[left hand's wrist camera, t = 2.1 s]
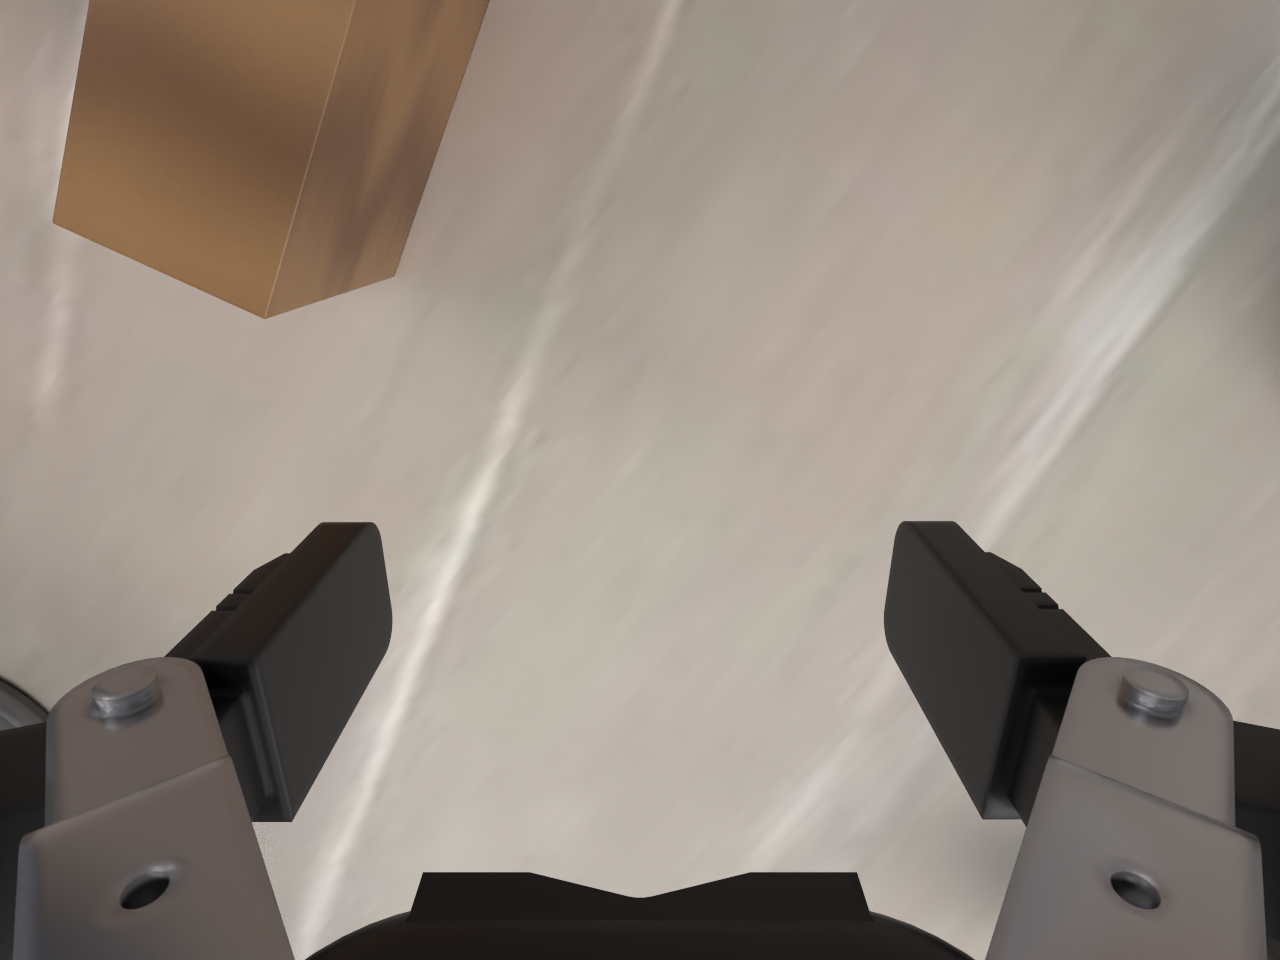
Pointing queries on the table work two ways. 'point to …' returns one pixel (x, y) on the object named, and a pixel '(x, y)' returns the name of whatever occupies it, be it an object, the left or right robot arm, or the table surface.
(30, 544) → the table surface
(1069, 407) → the table surface
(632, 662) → the table surface
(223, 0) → the box
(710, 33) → the table surface
